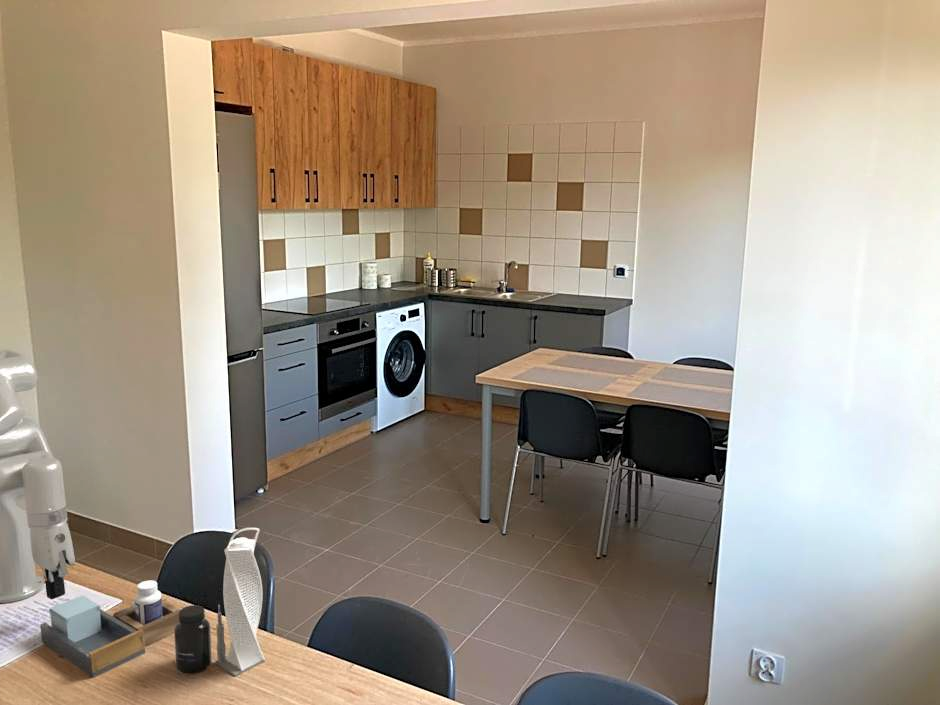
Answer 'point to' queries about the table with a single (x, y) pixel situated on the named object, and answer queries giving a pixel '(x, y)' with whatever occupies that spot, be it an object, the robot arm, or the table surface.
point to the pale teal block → (76, 618)
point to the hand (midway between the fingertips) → (56, 596)
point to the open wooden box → (155, 628)
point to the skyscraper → (240, 607)
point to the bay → (98, 645)
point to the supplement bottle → (192, 640)
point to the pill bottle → (148, 602)
